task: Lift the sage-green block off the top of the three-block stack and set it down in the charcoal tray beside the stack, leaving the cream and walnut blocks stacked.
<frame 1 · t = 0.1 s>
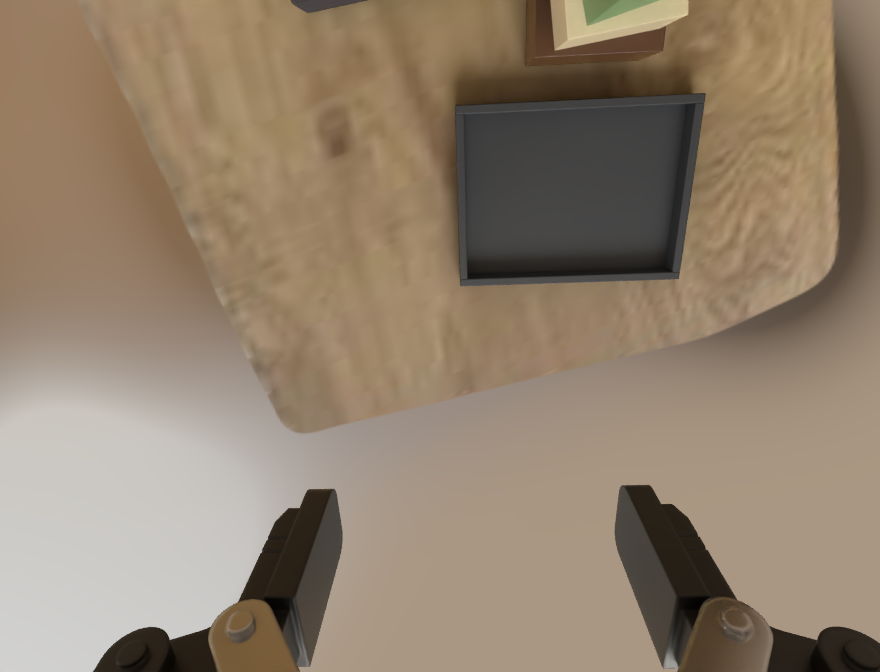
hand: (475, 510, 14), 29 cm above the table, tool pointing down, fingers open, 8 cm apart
tray: (567, 194, 39), on the table
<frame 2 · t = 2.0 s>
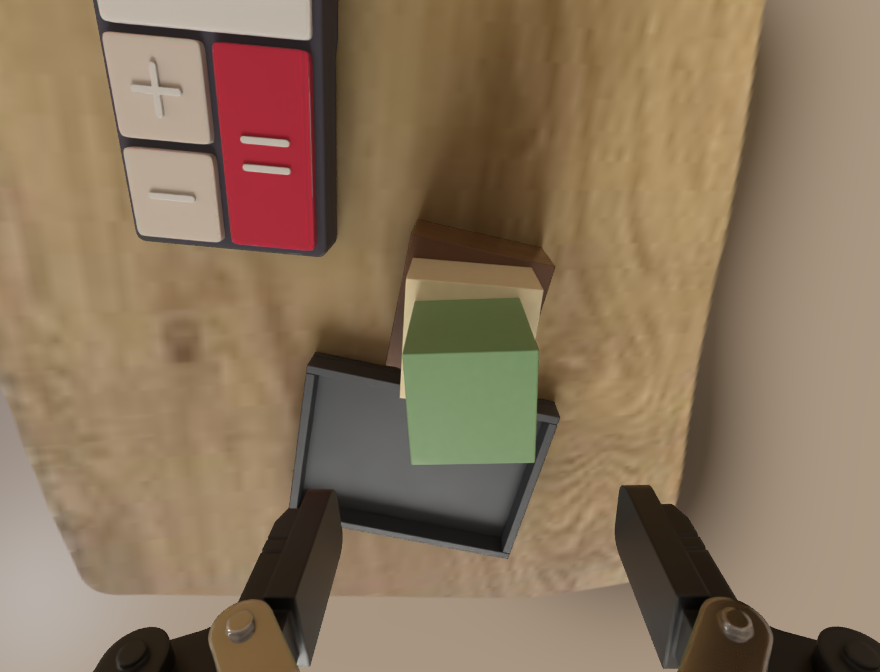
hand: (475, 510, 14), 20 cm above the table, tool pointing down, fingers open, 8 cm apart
green block: (468, 346, 25), point 8 cm above the table, touching cream block
cream block: (466, 318, 28), point 4 cm above the table, touching green block, walnut block
walnut block: (465, 293, 32), on the table, touching cream block
tray: (418, 452, 37), on the table
calculator: (243, 107, 29), on the table
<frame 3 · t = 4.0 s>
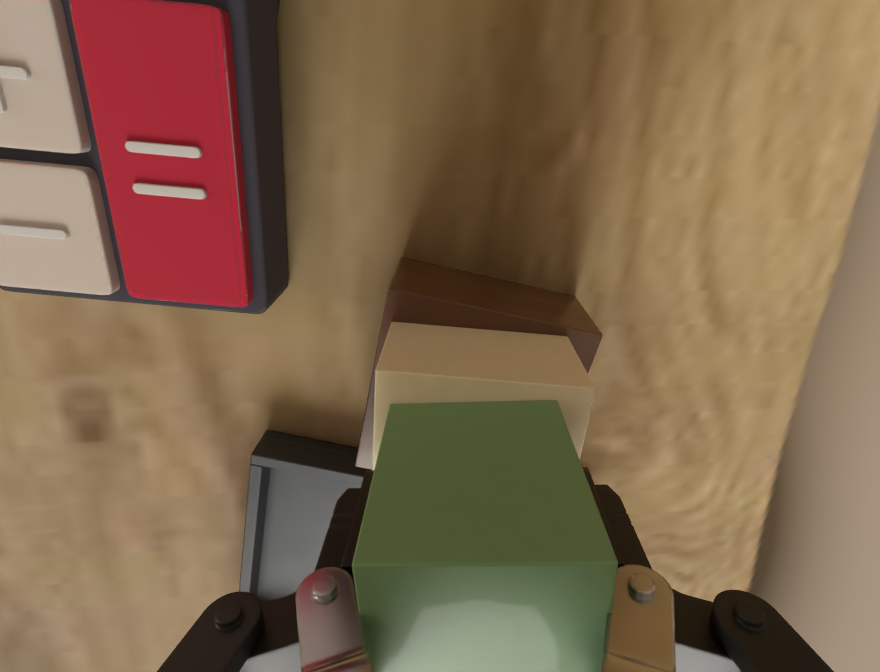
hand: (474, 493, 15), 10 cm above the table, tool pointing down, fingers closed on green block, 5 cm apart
green block: (474, 469, 16), point 8 cm above the table, touching cream block, gripper
cream block: (470, 405, 19), point 4 cm above the table, touching green block, walnut block
walnut block: (467, 356, 24), on the table, touching cream block
tray: (405, 554, 29), on the table
calculator: (149, 99, 20), on the table
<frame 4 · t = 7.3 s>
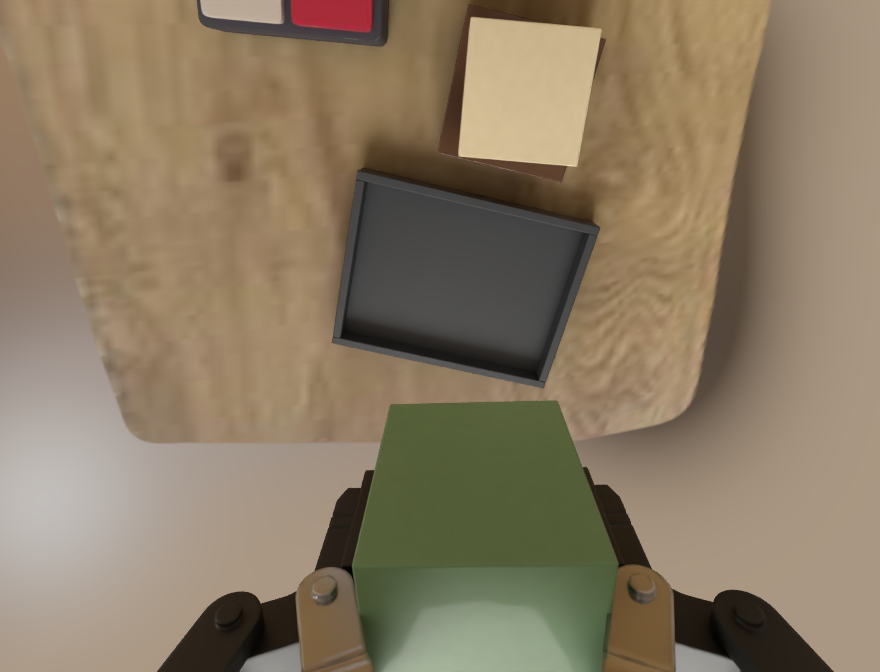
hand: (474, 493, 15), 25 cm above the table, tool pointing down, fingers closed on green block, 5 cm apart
green block: (474, 470, 16), point 24 cm above the table, touching gripper
cream block: (518, 98, 29), point 4 cm above the table, touching walnut block
walnut block: (510, 101, 33), on the table, touching cream block
tray: (458, 280, 39), on the table
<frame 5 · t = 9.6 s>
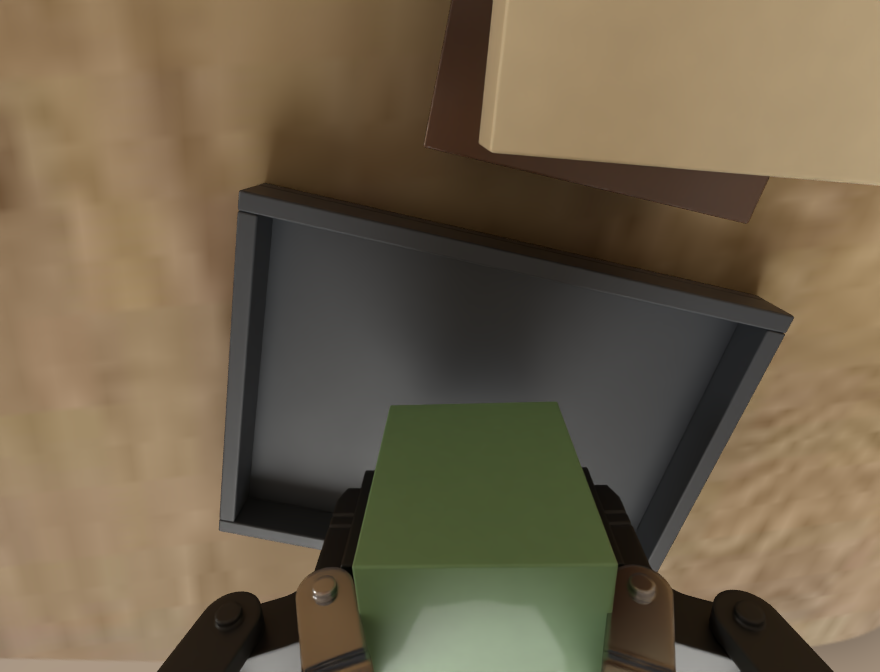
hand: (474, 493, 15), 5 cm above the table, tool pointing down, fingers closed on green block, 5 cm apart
green block: (474, 471, 16), point 4 cm above the table, touching gripper
walnut block: (596, 28, 14), on the table, touching cream block
tray: (471, 405, 19), on the table
when the fingers open (2 cm above the table, at t = 11.1 s): green block stays where it is, resting on tray.
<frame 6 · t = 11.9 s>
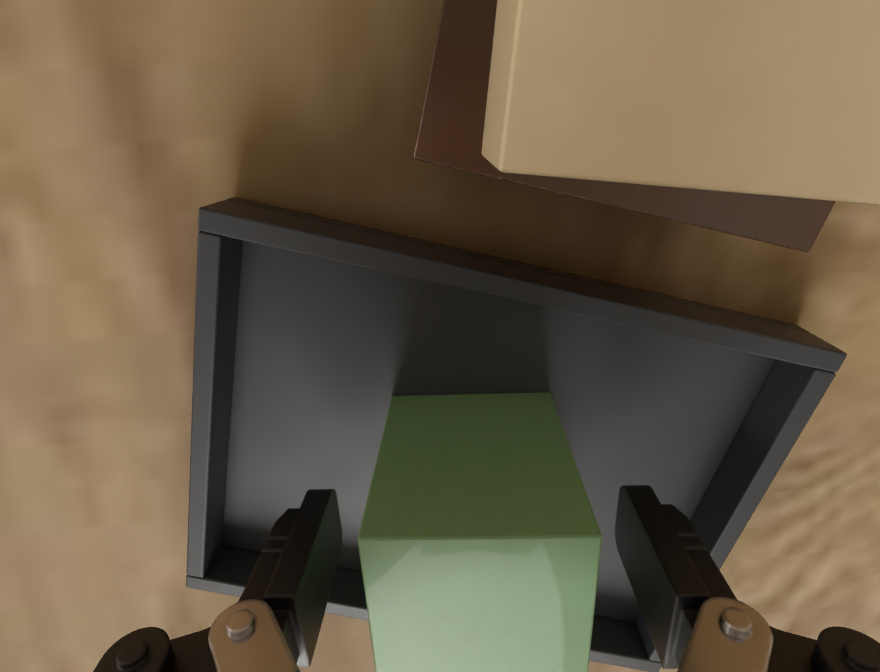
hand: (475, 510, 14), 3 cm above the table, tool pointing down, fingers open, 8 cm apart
green block: (471, 459, 17), point 1 cm above the table, touching tray
walnut block: (618, 18, 12), on the table, touching cream block
tray: (471, 446, 17), on the table
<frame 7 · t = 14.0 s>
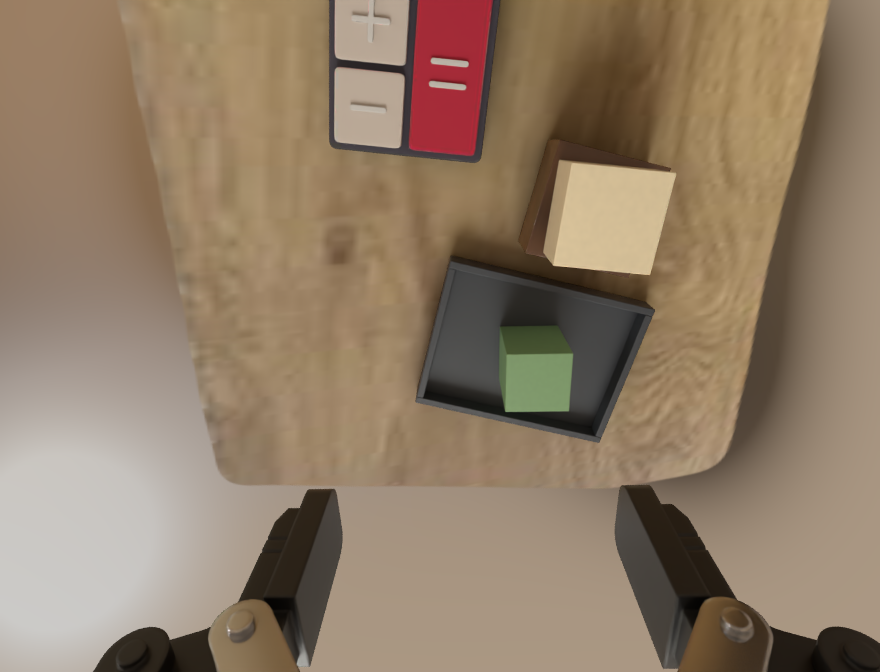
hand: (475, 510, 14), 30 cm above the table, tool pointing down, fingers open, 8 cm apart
green block: (527, 352, 44), point 1 cm above the table, touching tray
cream block: (595, 212, 35), point 4 cm above the table, touching walnut block
walnut block: (580, 204, 39), on the table, touching cream block
tray: (526, 348, 44), on the table
calculator: (416, 43, 36), on the table
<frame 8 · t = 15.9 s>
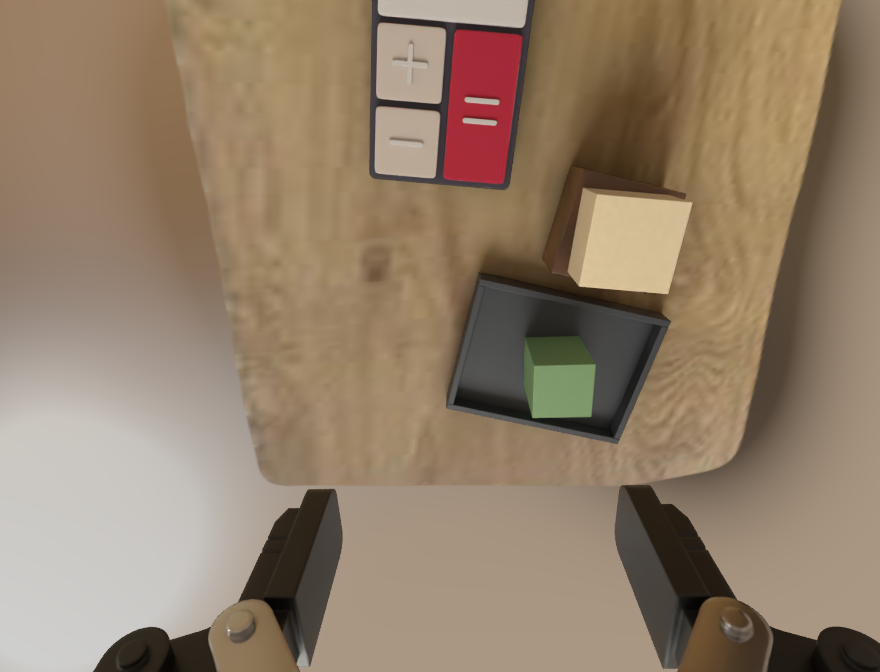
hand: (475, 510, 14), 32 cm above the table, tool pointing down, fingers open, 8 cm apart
green block: (550, 360, 47), point 1 cm above the table, touching tray
cream block: (616, 234, 38), point 4 cm above the table, touching walnut block
walnut block: (600, 224, 42), on the table, touching cream block
tray: (549, 357, 47), on the table
calculator: (448, 79, 39), on the table
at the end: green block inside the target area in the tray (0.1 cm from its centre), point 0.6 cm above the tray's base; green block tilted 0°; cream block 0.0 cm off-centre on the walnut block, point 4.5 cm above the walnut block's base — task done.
